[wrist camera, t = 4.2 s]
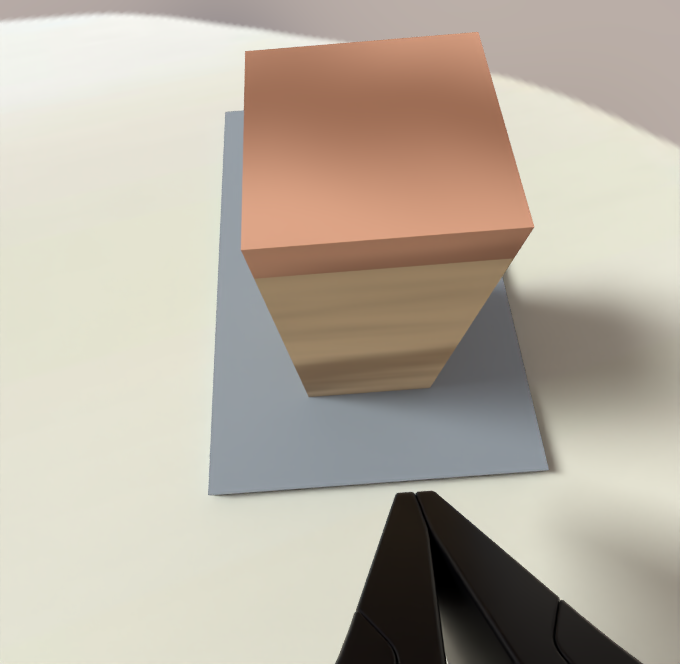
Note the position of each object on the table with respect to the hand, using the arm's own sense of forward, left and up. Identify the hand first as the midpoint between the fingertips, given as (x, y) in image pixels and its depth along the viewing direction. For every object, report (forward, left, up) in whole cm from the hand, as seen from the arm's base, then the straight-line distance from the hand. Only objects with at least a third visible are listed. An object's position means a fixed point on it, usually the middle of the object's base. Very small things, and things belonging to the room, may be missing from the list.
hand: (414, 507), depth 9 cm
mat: (+11, -2, -8) cm, 13 cm away
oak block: (+7, -1, -7) cm, 10 cm away
